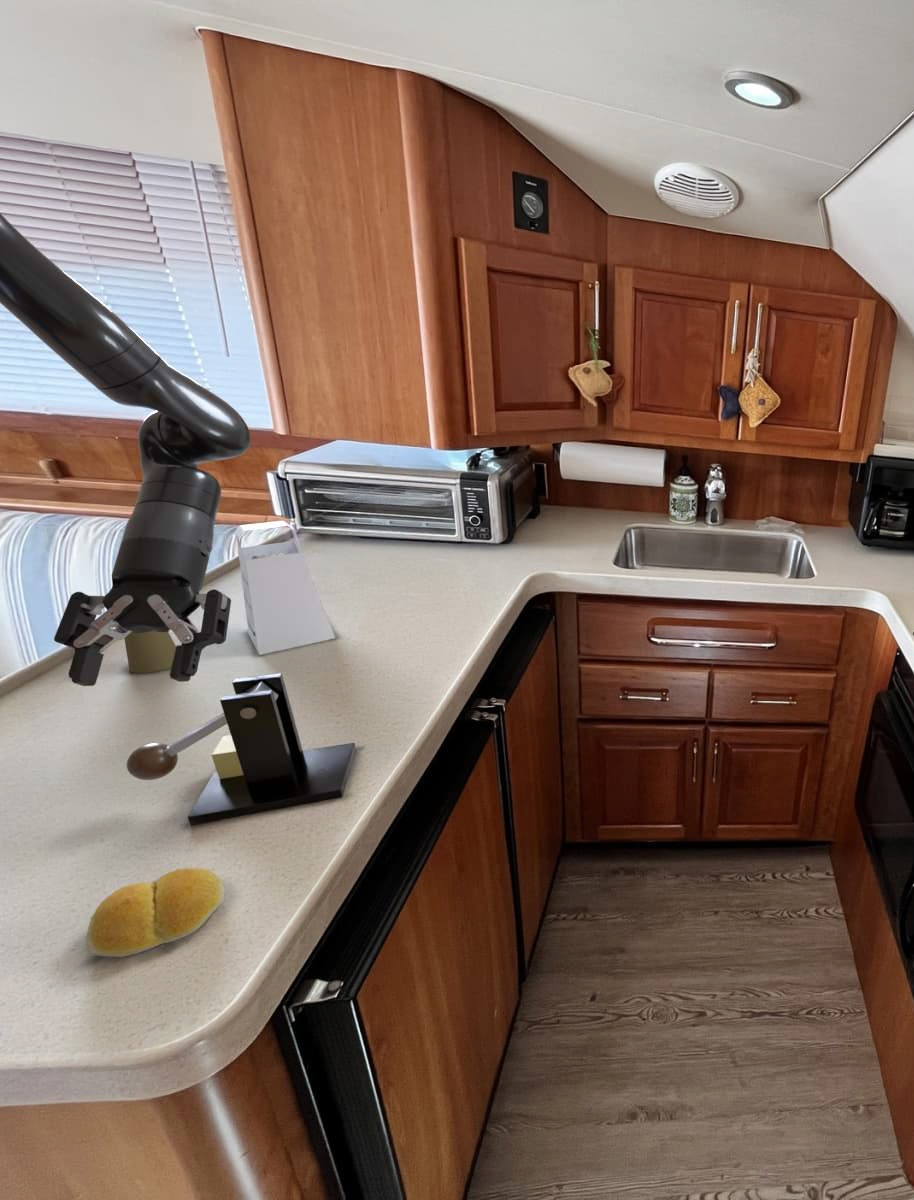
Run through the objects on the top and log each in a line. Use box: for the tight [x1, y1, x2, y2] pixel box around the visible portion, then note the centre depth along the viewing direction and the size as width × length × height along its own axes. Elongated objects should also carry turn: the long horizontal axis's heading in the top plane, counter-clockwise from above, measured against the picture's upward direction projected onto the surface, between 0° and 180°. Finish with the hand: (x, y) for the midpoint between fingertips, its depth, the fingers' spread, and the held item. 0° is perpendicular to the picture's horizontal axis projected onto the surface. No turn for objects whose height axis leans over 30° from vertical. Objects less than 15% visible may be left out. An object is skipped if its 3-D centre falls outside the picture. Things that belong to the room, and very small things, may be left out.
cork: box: [123, 631, 177, 674], centre depth 97 cm, size 6×6×11 cm
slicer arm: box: [126, 682, 279, 781], centre depth 71 cm, size 15×4×4 cm
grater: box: [234, 520, 336, 656], centre depth 107 cm, size 10×10×20 cm
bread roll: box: [85, 867, 225, 958], centre depth 59 cm, size 8×9×4 cm
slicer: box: [187, 673, 357, 826], centre depth 74 cm, size 14×10×14 cm
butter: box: [211, 734, 243, 779], centre depth 77 cm, size 4×4×4 cm
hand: (132, 682), depth 69 cm, fingers open, 8 cm apart
